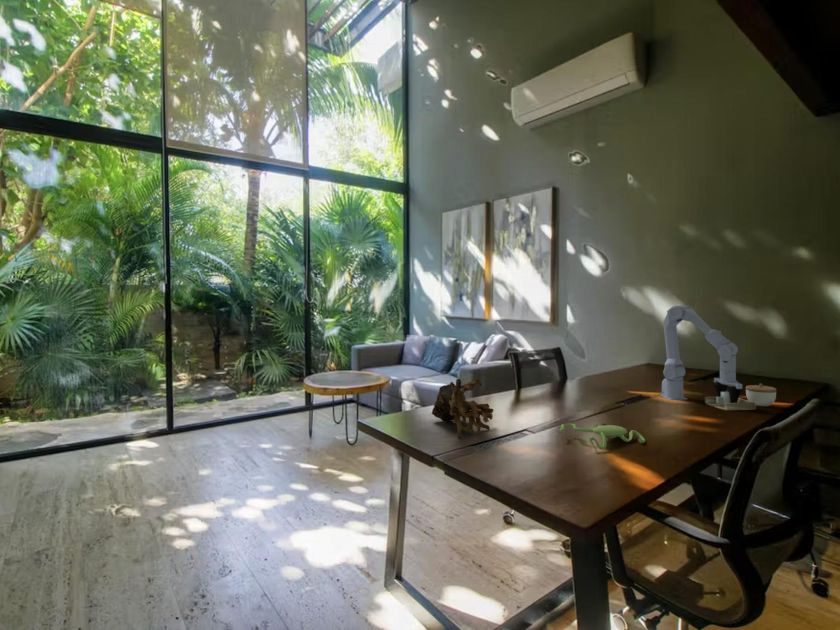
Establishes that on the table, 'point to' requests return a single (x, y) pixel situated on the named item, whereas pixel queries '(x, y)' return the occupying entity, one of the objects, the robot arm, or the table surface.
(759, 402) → the lidded jar
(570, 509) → the table surface
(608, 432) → the figurine
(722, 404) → the jug
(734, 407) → the beige shallow tray
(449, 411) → the decorative coral sculpture
